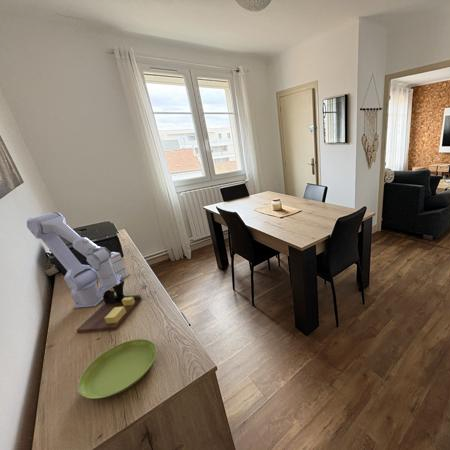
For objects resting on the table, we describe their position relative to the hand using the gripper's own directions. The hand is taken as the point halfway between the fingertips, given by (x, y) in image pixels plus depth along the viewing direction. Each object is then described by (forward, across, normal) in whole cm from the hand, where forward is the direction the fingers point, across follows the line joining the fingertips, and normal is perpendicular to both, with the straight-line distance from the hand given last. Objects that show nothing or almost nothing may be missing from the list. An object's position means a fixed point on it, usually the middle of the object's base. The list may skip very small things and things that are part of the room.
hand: (117, 299), depth 110 cm
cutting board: (+2, -8, -2) cm, 8 cm away
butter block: (+1, -11, -7) cm, 13 cm away
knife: (+1, 0, -3) cm, 3 cm away
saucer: (+2, -36, -24) cm, 44 cm away
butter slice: (+1, -3, -7) cm, 8 cm away
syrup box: (+2, +24, +14) cm, 27 cm away
